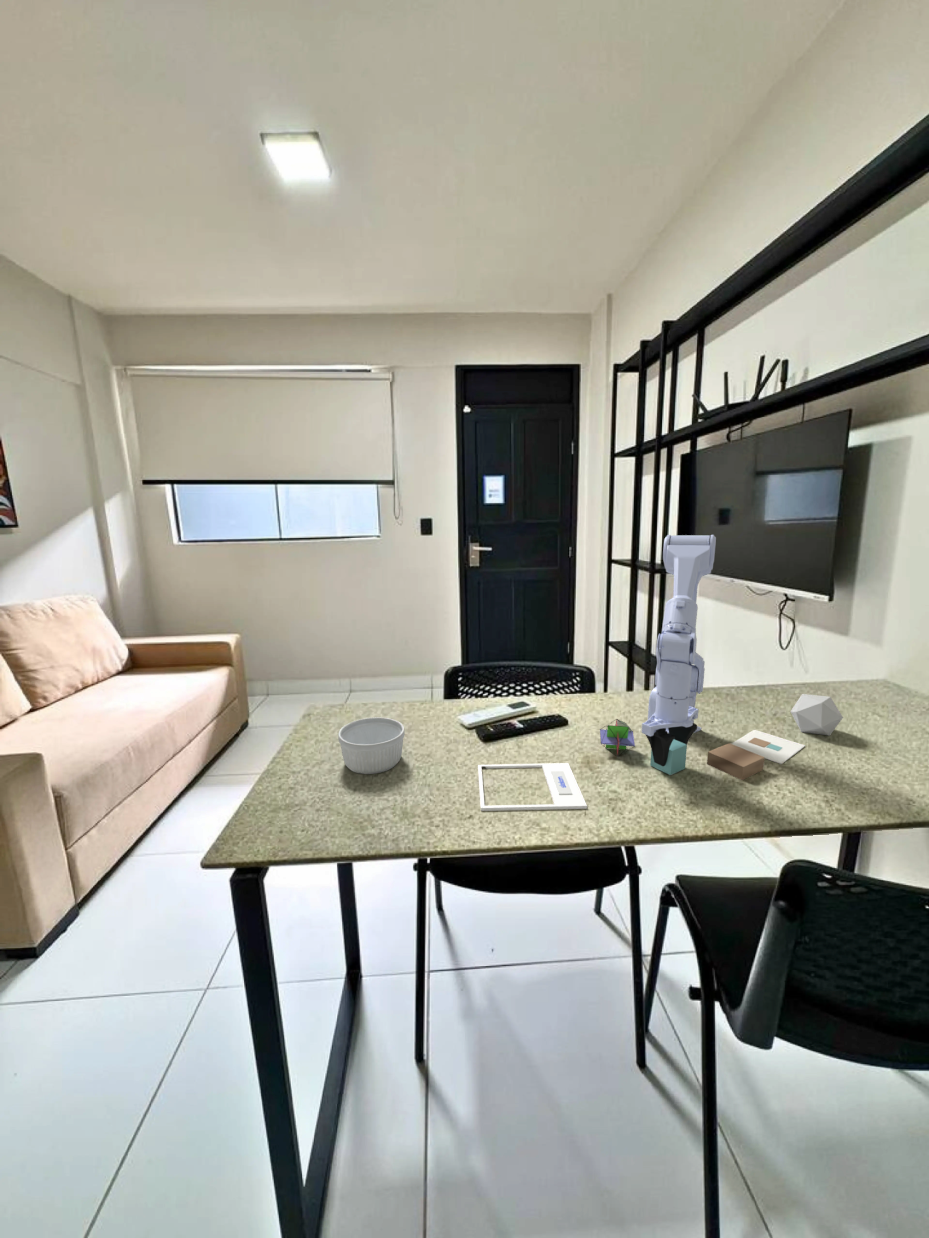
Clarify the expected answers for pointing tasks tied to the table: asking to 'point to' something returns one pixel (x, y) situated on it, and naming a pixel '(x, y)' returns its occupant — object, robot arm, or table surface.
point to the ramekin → (371, 744)
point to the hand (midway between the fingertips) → (668, 760)
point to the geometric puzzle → (617, 736)
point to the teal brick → (673, 758)
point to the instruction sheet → (768, 746)
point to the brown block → (735, 761)
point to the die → (816, 714)
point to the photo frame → (558, 782)
